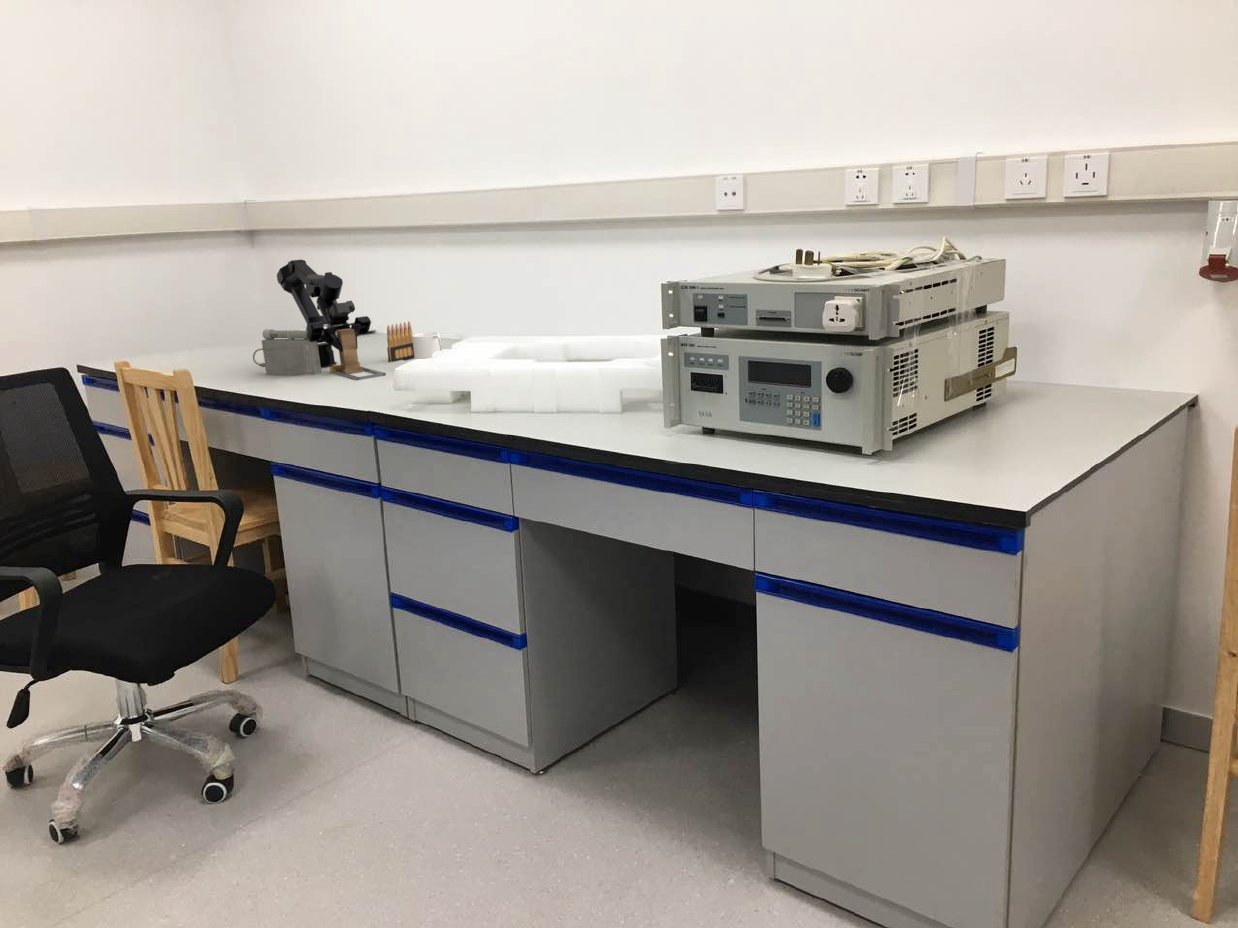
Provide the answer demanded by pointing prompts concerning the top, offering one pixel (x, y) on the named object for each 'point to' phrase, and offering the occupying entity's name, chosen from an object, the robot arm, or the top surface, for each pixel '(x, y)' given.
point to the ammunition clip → (400, 343)
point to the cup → (426, 344)
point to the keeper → (348, 352)
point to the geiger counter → (289, 353)
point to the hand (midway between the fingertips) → (349, 349)
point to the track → (376, 374)
